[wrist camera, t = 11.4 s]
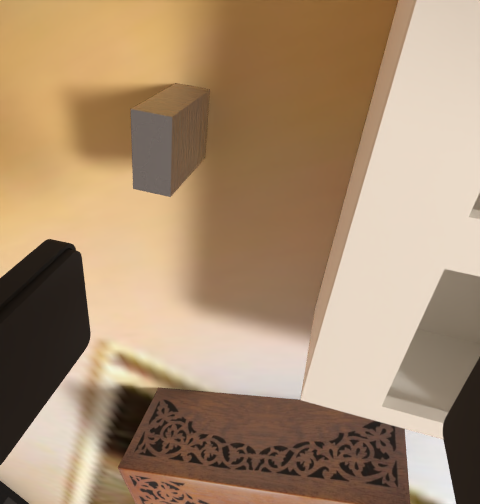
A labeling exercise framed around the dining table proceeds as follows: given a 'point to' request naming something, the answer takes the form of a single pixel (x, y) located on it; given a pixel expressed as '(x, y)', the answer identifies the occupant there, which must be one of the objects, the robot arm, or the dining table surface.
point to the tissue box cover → (261, 453)
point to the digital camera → (9, 496)
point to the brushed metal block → (168, 138)
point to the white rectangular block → (408, 233)
